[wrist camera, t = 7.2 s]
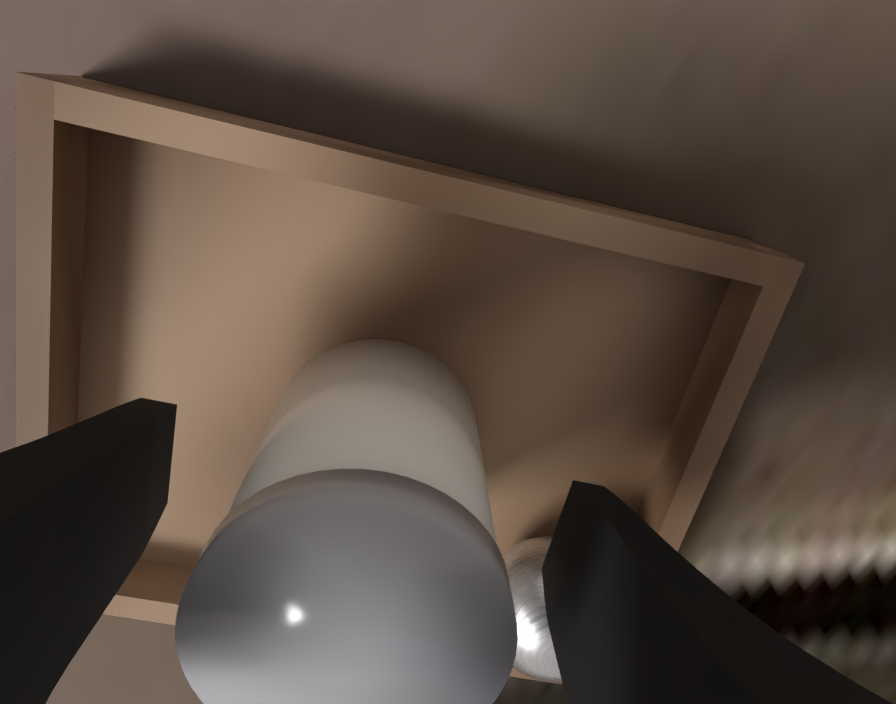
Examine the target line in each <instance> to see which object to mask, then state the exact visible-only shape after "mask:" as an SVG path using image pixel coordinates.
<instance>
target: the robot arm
mask: <svg viewBox="0 0 896 704" xmlns="http://www.w3.org/2000/svg"><path fill="white" fill-rule="evenodd" d="M176 412H177V404H172V403H167V402H162V401H156V400H151V399H146V398H139V399H135V400H132V401H130V402H127V403H124V404H122V405H119V406H117V407H114V408H112V409H110V410H107V411H105V412H103V413H100V414H98V415H95V416H93V417H91V418H88V419H86V420H84V421H81V422H79V423H76V424H74V425H72V426H69V427H67V428H64V429H62V430H59V431H57V432H55V433H52V434H50V435H47V436H45V437H42V438H40V439H37V440H34V441H32V442H29V443H26V444H23V445H21V446H18V447H15V448H12V449H10V450H7V451H4V452H2V453H0V704H45V703H46V702H47V700H48V698H49V696H50V694H51V692H52V691H53V689H54V687H55V686H56V684H57V682H58V681H59V679H60V677H61V676H62V674H63V673H64V671H65V669H66V668H67V666H68V664H69V663H70V661H71V660H72V658H73V657H74V655H75V654H76V653H77V651H78V650H79V648H80V647H81V645H82V644H83V642H84V641H85V639H86V638H87V636H88V635H89V633H90V632H91V630H92V629H93V627H94V626H95V624H96V623H97V621H98V620H99V618H100V617H101V615H102V614H103V612H104V611H105V609H106V608H107V606H108V605H109V604H110V602H111V601H112V599H113V598H114V596H115V595H116V593H117V592H118V590H119V589H120V587H121V586H122V584H123V583H124V581H125V580H126V578H127V577H128V575H129V574H130V572H131V571H132V569H133V568H134V566H135V564H136V563H137V561H138V560H139V558H140V557H141V555H142V554H143V552H144V550H145V548H146V546H147V544H148V542H149V540H150V538H151V536H152V534H153V532H154V530H155V528H156V526H157V524H158V522H159V520H160V518H161V516H162V514H163V512H164V509H165V507H166V505H167V503H168V494H169V483H170V473H171V463H172V453H173V442H174V432H175V422H176ZM542 577H543V589H544V599H545V607H546V616H547V621H548V626H549V630H550V634H551V638H552V643H553V647H554V651H555V655H556V659H557V663H558V667H559V671H560V675H561V679H562V683H563V687H564V691H565V695H566V699H567V703H568V704H892V703H891V702H889V701H887V700H885V699H883V698H881V697H880V696H878V695H876V694H874V693H873V692H871V691H869V690H868V689H866V688H864V687H862V686H861V685H859V684H857V683H855V682H854V681H852V680H850V679H849V678H847V677H845V676H844V675H842V674H841V673H839V672H837V671H836V670H834V669H833V668H831V667H829V666H828V665H826V664H825V663H823V662H821V661H820V660H818V659H817V658H815V657H814V656H812V655H810V654H809V653H807V652H806V651H804V650H803V649H801V648H800V647H798V646H797V645H795V644H794V643H792V642H791V641H789V640H788V639H786V638H785V637H783V636H782V635H781V634H779V633H778V632H776V631H775V630H774V629H772V628H771V627H770V626H768V625H767V624H765V623H764V622H763V621H761V620H760V619H759V618H757V617H756V616H754V615H753V614H752V613H750V612H749V611H748V610H746V609H745V608H744V607H742V606H741V605H740V604H738V603H737V602H736V601H735V600H733V599H732V598H731V597H730V596H728V595H727V594H726V593H725V592H724V591H722V590H721V589H720V588H719V587H718V586H716V585H715V584H714V583H713V582H712V581H710V580H709V579H708V578H707V577H706V576H704V575H703V574H702V573H701V572H700V571H698V570H697V569H696V568H695V567H694V566H693V565H692V564H690V563H689V562H688V561H687V560H686V559H685V558H684V557H683V556H681V555H680V554H679V553H678V552H677V551H676V550H675V549H674V548H673V547H672V546H670V545H669V544H668V543H667V542H666V541H665V540H664V539H663V538H662V537H661V536H660V535H659V534H658V533H656V532H655V531H654V530H653V529H652V528H651V527H650V526H649V525H648V524H647V523H646V522H645V521H644V520H643V519H642V518H640V517H639V516H638V515H637V514H636V513H635V512H634V511H633V510H632V509H631V508H630V507H629V506H627V505H626V504H625V503H624V502H623V501H622V500H621V499H620V498H618V497H617V496H616V495H615V494H614V493H613V492H611V491H610V490H609V489H607V488H606V487H605V486H601V485H596V484H590V483H585V482H580V481H575V480H573V481H572V484H571V487H570V490H569V493H568V495H567V498H566V501H565V504H564V507H563V510H562V512H561V515H560V518H559V521H558V524H557V526H556V529H555V532H554V535H553V538H552V540H551V543H550V546H549V549H548V552H547V554H546V557H545V560H544V563H543V566H542Z"/></svg>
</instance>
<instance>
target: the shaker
mask: <svg viewBox="0 0 896 704" xmlns="http://www.w3.org/2000/svg"><path fill="white" fill-rule="evenodd" d="M175 640H176V647H177V653H178V657H179V660H180V663H181V666H182V669H183V672H184V674H185V676H186V678H187V680H188V682H189V683H190V685H191V687H192V689H193V690H194V691H195V693H196V694H197V696H198V697H199V698H200V700H201V701H202V702H203V703H204V704H493V702H494V701H495V700H496V698H497V697H498V695H499V694H500V692H501V691H502V689H503V688H504V686H505V684H506V682H507V680H508V678H509V675H510V673H511V671H512V668H513V664H514V660H515V657H516V650H517V641H518V634H517V620H516V615H515V609H514V604H513V598H512V592H511V587H510V581H509V577H508V573H507V568H506V564H505V562H504V559H503V557H502V554H501V552H500V550H499V547H498V546H497V544H496V538H495V532H494V526H493V520H492V514H491V508H490V502H489V496H488V490H487V484H486V478H485V471H484V465H483V459H482V453H481V447H480V441H479V435H478V429H477V423H476V417H475V412H474V408H473V404H472V402H471V399H470V397H469V394H468V392H467V391H466V389H465V387H464V385H463V384H462V382H461V381H460V380H459V378H458V377H457V376H456V374H455V373H454V372H453V371H452V370H451V369H450V368H449V367H448V366H447V365H446V364H444V363H443V362H442V361H440V360H439V359H438V358H436V357H435V356H433V355H431V354H430V353H428V352H426V351H424V350H422V349H420V348H417V347H415V346H412V345H409V344H406V343H402V342H399V341H392V340H385V339H365V340H356V341H352V342H347V343H343V344H340V345H338V346H335V347H332V348H330V349H328V350H326V351H324V352H322V353H320V354H318V355H317V356H316V357H314V358H313V359H311V360H310V361H308V362H307V363H306V364H305V365H304V366H303V367H302V368H301V369H300V370H299V371H298V372H297V373H296V375H295V376H294V377H293V378H292V380H291V381H290V383H289V385H288V386H287V388H286V390H285V392H284V394H283V396H282V398H281V400H280V403H279V405H278V407H277V409H276V411H275V413H274V415H273V418H272V420H271V422H270V424H269V426H268V428H267V431H266V433H265V435H264V437H263V439H262V441H261V443H260V446H259V448H258V450H257V452H256V454H255V456H254V459H253V461H252V463H251V465H250V467H249V469H248V472H247V474H246V476H245V478H244V480H243V482H242V484H241V487H240V489H239V491H238V493H237V495H236V497H235V500H234V502H233V504H232V506H231V508H230V510H229V512H228V515H227V516H226V517H225V518H224V519H223V520H222V522H221V523H220V524H219V525H218V526H217V528H216V529H215V530H214V532H213V533H212V535H211V537H210V538H209V540H208V542H207V543H206V545H205V547H204V549H203V551H202V553H201V555H200V557H199V559H198V561H197V563H196V565H195V568H194V570H193V572H192V574H191V576H190V578H189V580H188V582H187V584H186V586H185V589H184V591H183V594H182V596H181V599H180V602H179V605H178V610H177V615H176V621H175Z"/></svg>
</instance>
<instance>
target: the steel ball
mask: <svg viewBox="0 0 896 704" xmlns="http://www.w3.org/2000/svg"><path fill="white" fill-rule="evenodd" d="M552 538H553V537H551V536H543V537H535V538H530V539H527V540H524V541H522V542H519V543H517V544H516V545H514V546H512V547H511V548H510V549H508V550H507V551H506V552H504V553H503V554H502V557H503V559H504V562H505V564H506V568H507V573H508V577H509V581H510V587H511V592H512V598H513V604H514V609H515V615H516V620H517V634H518V641H517V650H516V657H515V660H514V664H513V668H514V669H516V670H517V671H519V672H520V673H522V674H524V675H526V676H529V677H531V678H534V679H537V680H541V681H548V682H560V681H562V679H561V675H560V671H559V667H558V663H557V659H556V655H555V651H554V647H553V643H552V638H551V634H550V630H549V626H548V621H547V616H546V607H545V599H544V589H543V577H542V566H543V563H544V560H545V557H546V554H547V552H548V549H549V546H550V543H551V540H552Z"/></svg>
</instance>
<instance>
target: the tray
mask: <svg viewBox="0 0 896 704" xmlns="http://www.w3.org/2000/svg"><path fill="white" fill-rule="evenodd" d="M805 264H806V263H805V262H802V261H800V260H798V259H795V258H793V257H791V256H788V255H786V254H784V253H781V252H779V251H777V250H774V249H772V248H770V247H767V246H765V245H763V244H761V243H758V242H756V241H753V240H749V239H744V238H740V237H736V236H732V235H728V234H724V233H720V232H716V231H712V230H708V229H703V228H699V227H695V226H691V225H687V224H683V223H679V222H675V221H671V220H667V219H662V218H658V217H654V216H650V215H646V214H642V213H638V212H634V211H630V210H626V209H621V208H617V207H613V206H609V205H605V204H601V203H597V202H593V201H589V200H584V199H580V198H576V197H572V196H568V195H564V194H560V193H556V192H552V191H548V190H543V189H539V188H535V187H531V186H527V185H523V184H519V183H515V182H511V181H507V180H502V179H498V178H494V177H490V176H486V175H482V174H478V173H474V172H470V171H466V170H461V169H457V168H453V167H449V166H445V165H441V164H437V163H433V162H429V161H425V160H420V159H416V158H412V157H408V156H404V155H400V154H396V153H392V152H388V151H383V150H379V149H375V148H371V147H367V146H363V145H359V144H355V143H351V142H347V141H342V140H338V139H334V138H330V137H326V136H322V135H318V134H314V133H310V132H306V131H301V130H297V129H293V128H289V127H285V126H281V125H277V124H273V123H269V122H265V121H260V120H256V119H252V118H248V117H244V116H240V115H236V114H232V113H228V112H224V111H219V110H215V109H211V108H207V107H203V106H199V105H195V104H191V103H187V102H182V101H178V100H174V99H170V98H166V97H162V96H158V95H154V94H150V93H146V92H141V91H137V90H133V89H129V88H125V87H121V86H117V85H113V84H109V83H105V82H100V81H96V80H92V79H88V78H84V77H80V76H70V75H55V74H40V73H25V72H16V447H18V446H21V445H23V444H26V443H29V442H32V441H34V440H37V439H40V438H42V437H45V436H47V435H50V434H52V433H55V432H57V431H59V430H62V429H64V428H67V427H69V426H72V425H74V424H76V423H79V422H81V421H84V420H86V419H88V418H91V417H93V416H95V415H98V414H100V413H103V412H105V411H107V410H110V409H112V408H114V407H117V406H119V405H122V404H124V403H127V402H130V401H132V400H135V399H139V398H146V399H151V400H156V401H162V402H167V403H172V404H177V412H176V422H175V432H174V442H173V453H172V463H171V473H170V483H169V494H168V503H167V505H166V507H165V509H164V512H163V514H162V516H161V518H160V520H159V522H158V524H157V526H156V528H155V530H154V532H153V534H152V536H151V538H150V540H149V542H148V544H147V546H146V548H145V550H144V552H143V554H142V555H141V557H140V558H139V560H138V561H137V563H136V564H135V566H134V568H133V569H132V571H131V572H130V574H129V575H128V577H127V578H126V580H125V581H124V583H123V584H122V586H121V587H120V589H119V590H118V592H117V593H116V595H115V596H114V598H113V599H112V601H111V602H110V604H109V605H108V606H107V608H106V609H105V611H104V612H103V614H106V615H113V616H119V617H126V618H132V619H139V620H145V621H152V622H158V623H165V624H172V625H175V621H176V615H177V610H178V605H179V602H180V599H181V596H182V594H183V591H184V589H185V586H186V584H187V582H188V580H189V578H190V576H191V574H192V572H193V570H194V568H195V565H196V563H197V561H198V559H199V557H200V555H201V553H202V551H203V549H204V547H205V545H206V543H207V542H208V540H209V538H210V537H211V535H212V533H213V532H214V530H215V529H216V528H217V526H218V525H219V524H220V523H221V522H222V520H223V519H224V518H225V517H226V516H227V515H228V512H229V510H230V508H231V506H232V504H233V502H234V500H235V497H236V495H237V493H238V491H239V489H240V487H241V484H242V482H243V480H244V478H245V476H246V474H247V472H248V469H249V467H250V465H251V463H252V461H253V459H254V456H255V454H256V452H257V450H258V448H259V446H260V443H261V441H262V439H263V437H264V435H265V433H266V431H267V428H268V426H269V424H270V422H271V420H272V418H273V415H274V413H275V411H276V409H277V407H278V405H279V403H280V400H281V398H282V396H283V394H284V392H285V390H286V388H287V386H288V385H289V383H290V381H291V380H292V378H293V377H294V376H295V375H296V373H297V372H298V371H299V370H300V369H301V368H302V367H303V366H304V365H305V364H306V363H307V362H308V361H310V360H311V359H313V358H314V357H316V356H317V355H318V354H320V353H322V352H324V351H326V350H328V349H330V348H332V347H335V346H338V345H340V344H343V343H347V342H352V341H356V340H365V339H385V340H392V341H399V342H402V343H406V344H409V345H412V346H415V347H417V348H420V349H422V350H424V351H426V352H428V353H430V354H431V355H433V356H435V357H436V358H438V359H439V360H440V361H442V362H443V363H444V364H446V365H447V366H448V367H449V368H450V369H451V370H452V371H453V372H454V373H455V374H456V376H457V377H458V378H459V380H460V381H461V382H462V384H463V385H464V387H465V389H466V391H467V392H468V394H469V397H470V399H471V402H472V404H473V408H474V412H475V417H476V423H477V429H478V435H479V441H480V447H481V453H482V459H483V465H484V471H485V478H486V484H487V490H488V496H489V502H490V508H491V514H492V520H493V526H494V532H495V538H496V544H497V546H498V547H499V550H500V552H501V554H503V553H504V552H506V551H507V550H508V549H510V548H511V547H512V546H514V545H516V544H517V543H519V542H522V541H524V540H527V539H530V538H535V537H543V536H551V537H553V535H554V532H555V529H556V526H557V524H558V521H559V518H560V515H561V512H562V510H563V507H564V504H565V501H566V498H567V495H568V493H569V490H570V487H571V484H572V481H573V480H575V481H580V482H585V483H590V484H596V485H601V486H605V487H606V488H607V489H609V490H610V491H611V492H613V493H614V494H615V495H616V496H617V497H618V498H620V499H621V500H622V501H623V502H624V503H625V504H626V505H627V506H629V507H630V508H631V509H632V510H633V511H634V512H635V513H636V514H637V515H638V516H639V517H640V518H642V519H643V520H644V521H645V522H646V523H647V524H648V525H649V526H650V527H651V528H652V529H653V530H654V531H655V532H656V533H658V534H659V535H660V536H661V537H662V538H663V539H664V540H665V541H666V542H667V543H668V544H669V545H670V546H672V547H673V548H674V549H675V550H676V551H677V552H678V550H679V548H680V545H681V543H682V541H683V539H684V536H685V534H686V532H687V530H688V527H689V525H690V523H691V521H692V518H693V516H694V514H695V512H696V509H697V507H698V505H699V503H700V500H701V498H702V496H703V494H704V491H705V489H706V487H707V485H708V482H709V480H710V478H711V476H712V473H713V471H714V469H715V466H716V464H717V462H718V460H719V457H720V455H721V453H722V451H723V448H724V446H725V444H726V442H727V439H728V437H729V435H730V433H731V430H732V428H733V426H734V424H735V421H736V419H737V417H738V415H739V412H740V410H741V408H742V406H743V403H744V401H745V399H746V397H747V394H748V392H749V390H750V388H751V385H752V383H753V381H754V379H755V376H756V374H757V372H758V370H759V367H760V365H761V363H762V361H763V358H764V356H765V354H766V351H767V349H768V347H769V345H770V342H771V340H772V338H773V336H774V333H775V331H776V329H777V327H778V324H779V322H780V320H781V318H782V315H783V313H784V311H785V309H786V306H787V304H788V302H789V300H790V297H791V295H792V293H793V291H794V288H795V286H796V284H797V282H798V279H799V277H800V275H801V273H802V270H803V268H804V266H805ZM509 676H511V677H518V678H524V679H531V680H537V679H534V678H531V677H529V676H526V675H524V674H522V673H520V672H519V671H517V670H516V669H514V668H512V671H511V673H510V675H509ZM537 681H541V680H537ZM544 682H548V681H544ZM550 683H557V684H563V683H562V681H560V682H550Z"/></svg>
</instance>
